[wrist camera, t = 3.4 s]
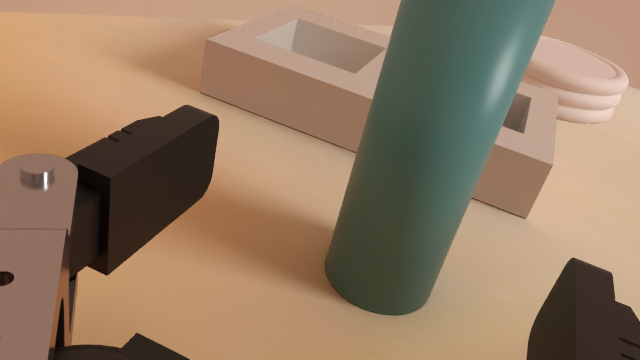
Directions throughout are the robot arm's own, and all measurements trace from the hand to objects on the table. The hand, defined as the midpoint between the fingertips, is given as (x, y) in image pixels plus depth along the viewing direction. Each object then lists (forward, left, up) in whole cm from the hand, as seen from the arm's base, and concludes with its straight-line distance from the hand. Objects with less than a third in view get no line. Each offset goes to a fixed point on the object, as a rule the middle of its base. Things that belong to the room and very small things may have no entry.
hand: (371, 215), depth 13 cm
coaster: (-5, -36, -7) cm, 37 cm away
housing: (+4, -21, -7) cm, 22 cm away
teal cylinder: (0, -7, -7) cm, 9 cm away
